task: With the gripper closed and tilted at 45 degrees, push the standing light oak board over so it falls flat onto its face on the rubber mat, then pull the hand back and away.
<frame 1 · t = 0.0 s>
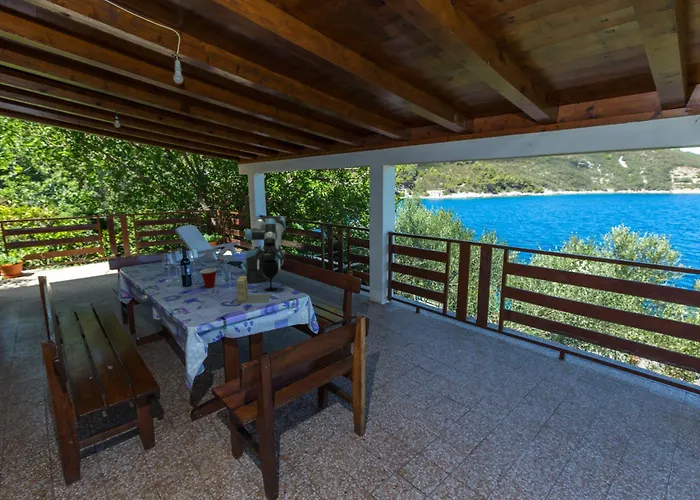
hand: (268, 269, 225), 15 cm above the table, tool tilted 35°, fingers open, 13 cm apart
oak board: (243, 299, 211), point 1 cm above the table, touching rubber mat
plastic cup: (209, 287, 238), on the table
wine glass: (271, 290, 230), on the table
rubber mat: (253, 299, 212), on the table
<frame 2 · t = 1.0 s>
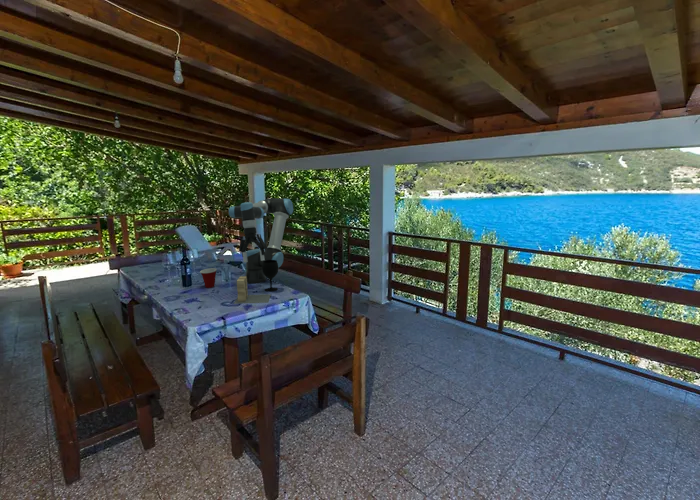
hand: (254, 261, 215), 22 cm above the table, tool pointing down, fingers open, 13 cm apart
nothing on the table moved.
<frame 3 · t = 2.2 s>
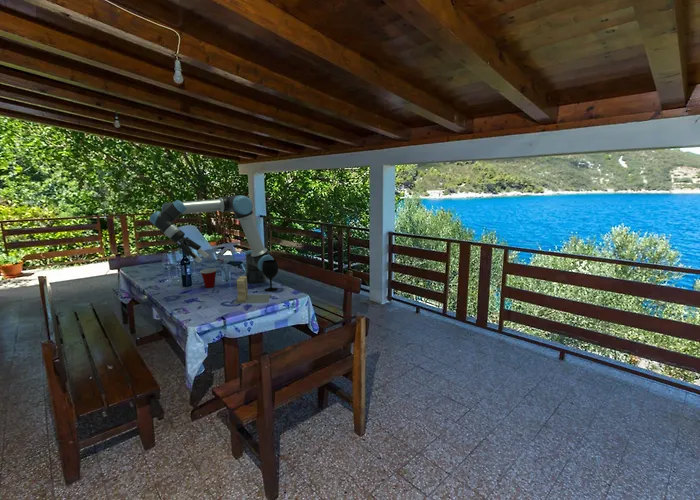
hand: (204, 259, 204), 26 cm above the table, tool tilted 45°, fingers open, 13 cm apart
nothing on the table moved.
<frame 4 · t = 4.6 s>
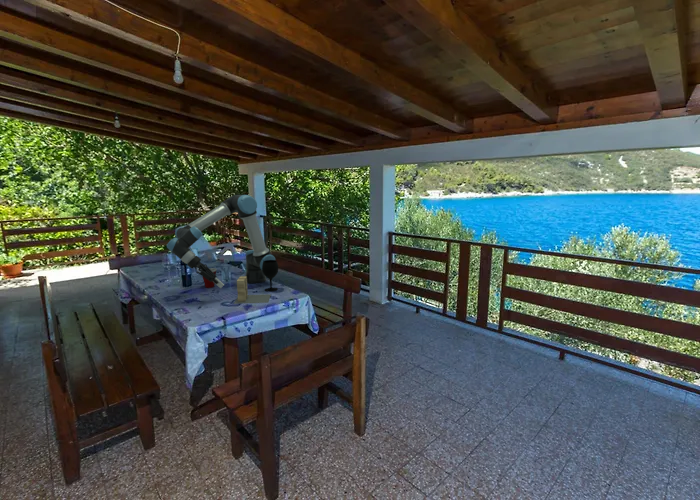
hand: (222, 286, 207), 9 cm above the table, tool tilted 45°, fingers closed
nothing on the table moved.
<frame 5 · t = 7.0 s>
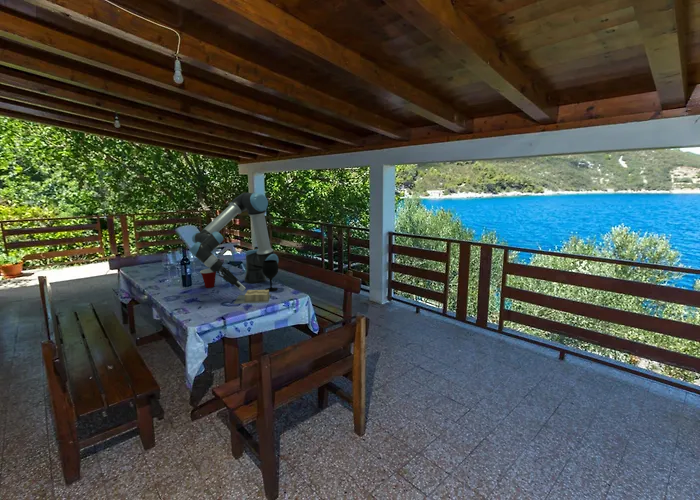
hand: (244, 289, 210), 6 cm above the table, tool tilted 45°, fingers closed
oak board: (246, 295, 211), point 3 cm above the table, tilted 90°, touching rubber mat
everything else where it was.
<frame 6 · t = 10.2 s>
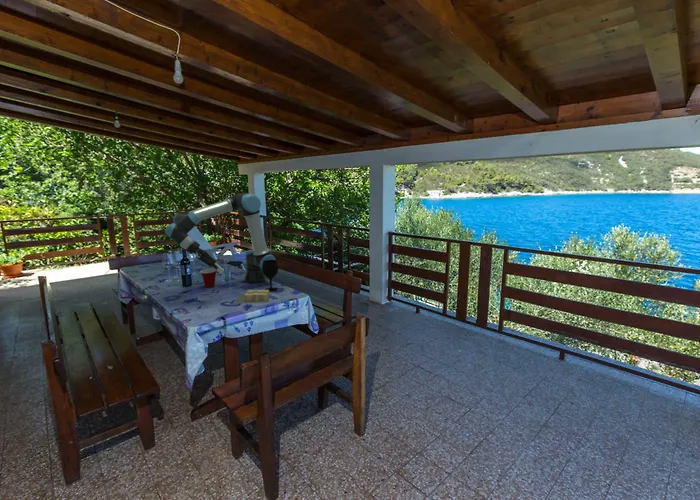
hand: (222, 271, 206), 18 cm above the table, tool tilted 45°, fingers closed
nothing on the table moved.
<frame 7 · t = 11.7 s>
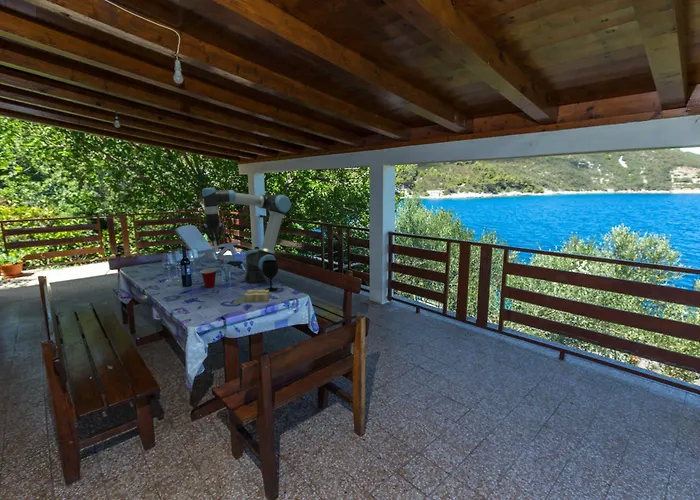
hand: (216, 250, 217), 28 cm above the table, tool pointing down, fingers closed
nothing on the table moved.
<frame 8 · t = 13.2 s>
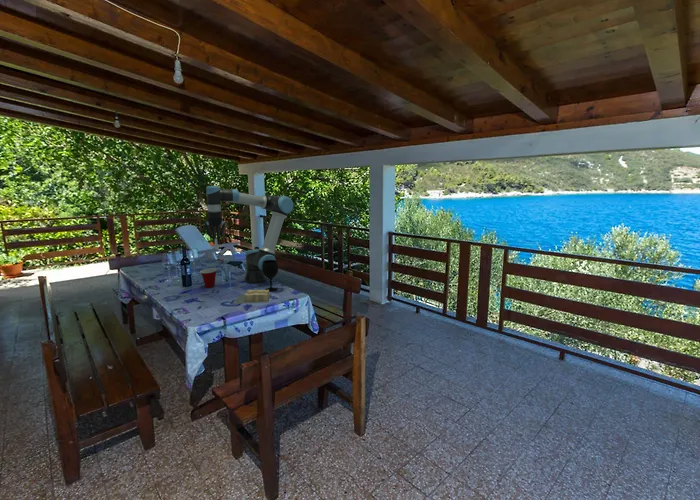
hand: (217, 249, 217), 29 cm above the table, tool pointing down, fingers closed
nothing on the table moved.
at the end: oak board tilted 90°; oak board inside the target area on the rubber mat (5.9 cm from its centre), point 2.6 cm above the rubber mat's base; oak board touching rubber mat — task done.
